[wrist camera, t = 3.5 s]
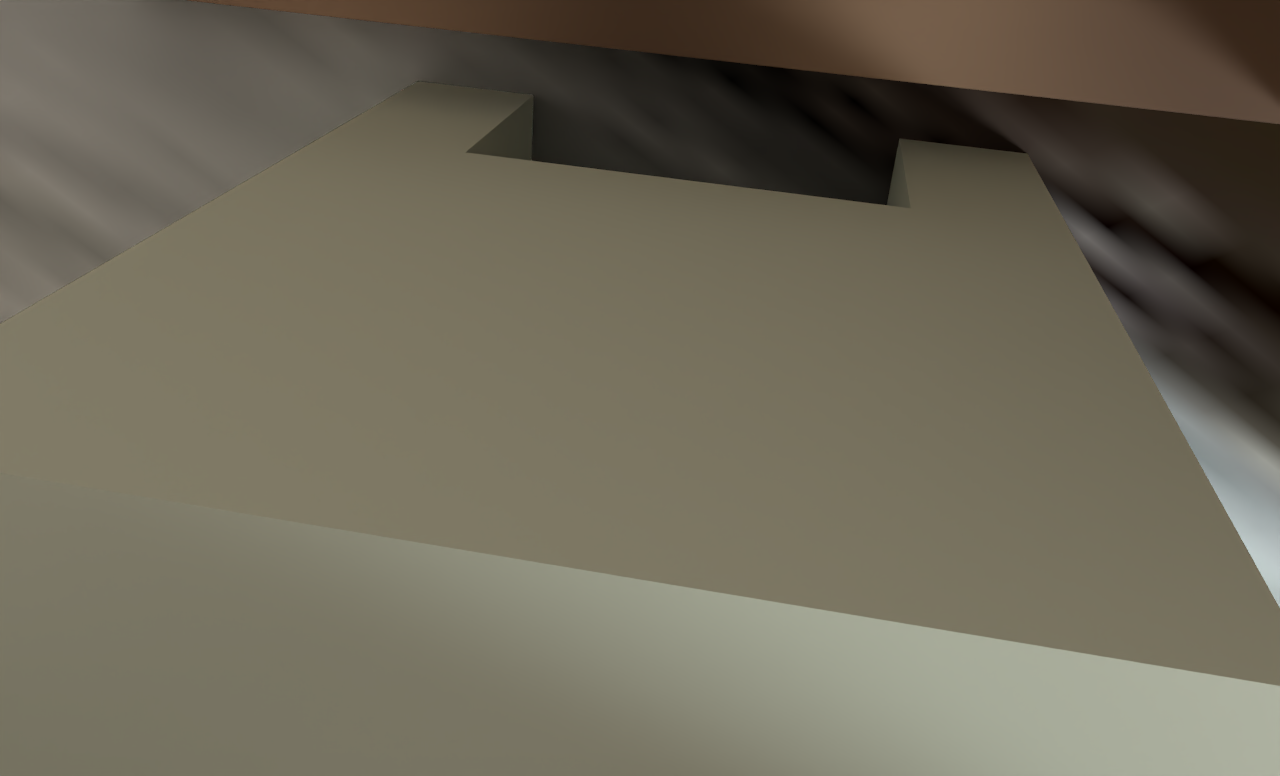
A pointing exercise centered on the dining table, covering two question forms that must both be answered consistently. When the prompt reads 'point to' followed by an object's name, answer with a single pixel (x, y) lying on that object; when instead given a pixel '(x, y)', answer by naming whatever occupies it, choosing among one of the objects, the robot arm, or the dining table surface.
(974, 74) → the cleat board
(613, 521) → the cabinet block
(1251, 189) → the dining table surface
